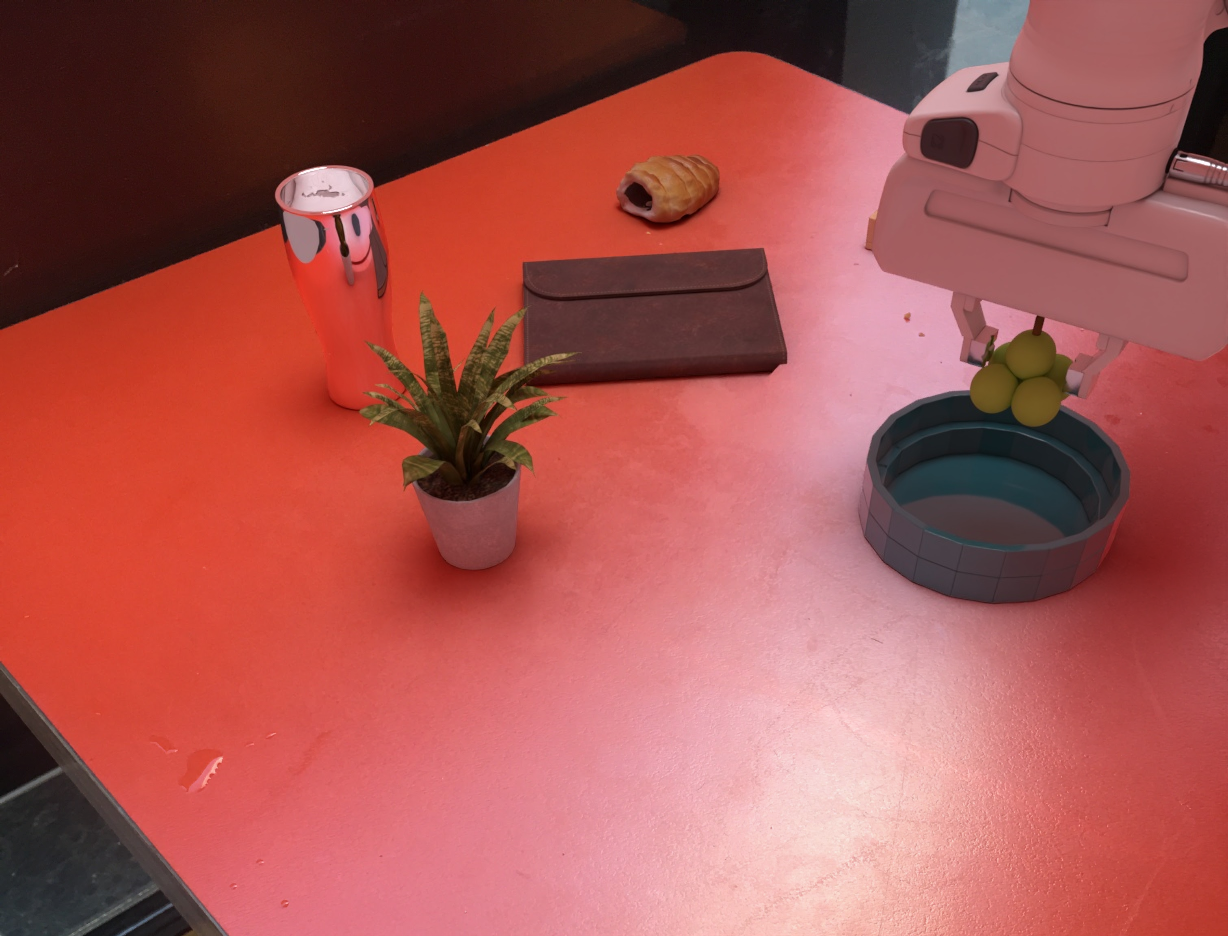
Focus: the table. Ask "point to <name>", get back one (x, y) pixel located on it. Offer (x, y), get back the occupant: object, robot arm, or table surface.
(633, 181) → the pastry
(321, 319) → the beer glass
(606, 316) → the notebook
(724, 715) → the table surface
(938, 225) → the robot arm
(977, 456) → the bowl
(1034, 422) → the grapes
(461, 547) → the house plant
